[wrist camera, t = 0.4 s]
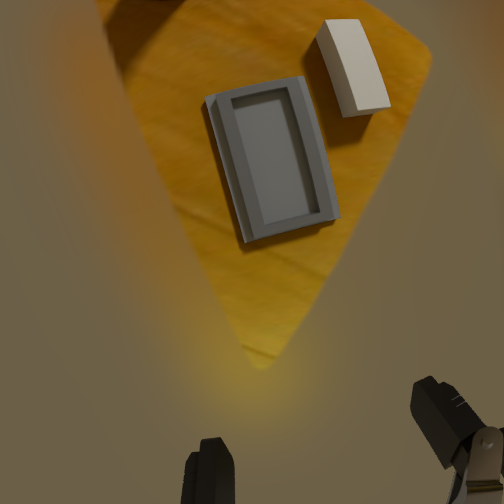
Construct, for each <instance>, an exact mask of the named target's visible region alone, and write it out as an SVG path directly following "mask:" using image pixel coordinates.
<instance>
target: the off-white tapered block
mask: <svg viewBox="0 0 504 504" xmlns="http://www.w3.org/2000/svg"><path fill="white" fill-rule="evenodd" d="M315 38H316V40H317V43H318V46H319V48H320V51H321V53H322V56H323V59H324V62H325V64H326V67H327V70H328V73H329V76H330V79H331V82H332V85H333V88H334V91H335V94H336V97H337V101H338V104H339V107H340V110H341V114H342V117H343V118H346V117H353V116H360V115H368V114H374V113H377V112H379V111H382V110H384V109H387V108H389V107H391V105H390V101H389V98H388V95H387V92H386V88H385V85H384V82H383V79H382V76H381V74H380V71H379V68H378V65H377V62H376V60H375V57H374V55H373V52H372V49H371V47H370V44H369V42H368V40H367V37H366V35H365V33H364V30H363V28H362V26H361V24H360V21H359V20H356V19H344V20H325V21H324V23H323V24H322V26H321V28H320V29H319V31H318V33H317V34H316V36H315Z"/></svg>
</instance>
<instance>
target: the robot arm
mask: <svg viewBox="0 0 504 504" xmlns="http://www.w3.org/2000/svg"><path fill="white" fill-rule="evenodd" d="M410 409H411V413H412V416H413V418H414V419H415V421H416V423H417V424H418V426H419V427H420V429H421V431H422V432H423V434H424V436H425V437H426V439H427V440H428V442H429V443H430V445H431V447H432V449H433V450H434V452H435V454H436V455H437V457H438V459H439V460H440V462H441V464H442V466H443V467H444V469H447V468H449V467H451V466H452V465H453V466H454V468H455V472H454V476H453V480H452V484H451V489H450V492H449V496H448V499H447V503H446V504H501V501H502V496H503V489H504V488H503V484H501V483H500V473H501V474H502V476H503V477H504V428H500V429H498V428H496V427H492V426H486V425H485V424H484V423H483V422H482V421H481V419H480V418H479V417H478V416H477V414H476V413H475V412H474V411H473V410H472V408H471V407H470V406H469V405H468V403H467V402H465V400H464V399H463V398H462V396H460V394H459V393H458V391H457V390H456V389H455V388H454V387H453V386H451V385H449V384H447V383H445V382H442V383H440V384H438V383H437V381H436V380H435V379H434V378H433V377H432V376H428V377H426V378H424V379H421V380H420V381H418V382H415V383H414V385H413V391H412V398H411V404H410ZM184 473H185V475H184V480H183V481H184V483H183V488H182V496H181V504H235V468H234V461H233V458H232V455H231V454H230V452H229V450H228V449H227V447H226V445H225V444H224V442H223V440H222V439H221V438H220V437H217V438H209V439H202V440H201V443H200V452H192V453H191V454H190V456H189V458H188V459H187V461H186V464H185V472H184Z"/></svg>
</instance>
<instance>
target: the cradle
mask: <svg viewBox="0 0 504 504" xmlns="http://www.w3.org/2000/svg"><path fill="white" fill-rule="evenodd" d="M205 101H206V105H207V108H208V112H209V116H210V119H211V123H212V127H213V130H214V134H215V137H216V141H217V145H218V148H219V152H220V156H221V159H222V163H223V167H224V170H225V174H226V177H227V181H228V185H229V188H230V192H231V195H232V199H233V203H234V206H235V210H236V213H237V217H238V221H239V224H240V228H241V231H242V235H243V239H244V242H245V243H247V242H251V241H254V240H258V239H262V238H266V237H269V236H273V235H277V234H281V233H284V232H288V231H292V230H296V229H299V228H303V227H307V226H311V225H315V224H318V223H322V222H326V221H330V220H334V219H338V218H341V216H340V211H339V206H338V202H337V197H336V192H335V188H334V183H333V179H332V175H331V170H330V166H329V162H328V158H327V154H326V150H325V146H324V142H323V139H322V135H321V131H320V128H319V124H318V121H317V117H316V114H315V110H314V107H313V103H312V100H311V97H310V94H309V91H308V87H307V84H306V81H305V78H304V76H297V77H291V78H285V79H279V80H274V81H269V82H264V83H259V84H254V85H250V86H245V87H241V88H237V89H233V90H229V91H225V92H221V93H217V94H213V95H210V96H206V97H205Z"/></svg>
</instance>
